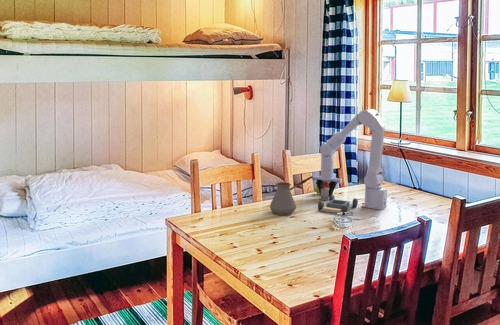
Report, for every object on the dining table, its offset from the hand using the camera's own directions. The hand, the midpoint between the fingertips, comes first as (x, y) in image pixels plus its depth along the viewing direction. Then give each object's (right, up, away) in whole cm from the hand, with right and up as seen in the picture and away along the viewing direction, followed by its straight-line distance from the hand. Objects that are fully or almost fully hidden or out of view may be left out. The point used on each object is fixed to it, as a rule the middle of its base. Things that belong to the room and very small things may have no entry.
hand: (326, 196), depth 243 cm
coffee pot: (-18, -5, -21) cm, 28 cm away
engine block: (0, -1, 0) cm, 1 cm away
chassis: (+3, -4, -16) cm, 17 cm away
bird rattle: (0, 0, +10) cm, 10 cm away
